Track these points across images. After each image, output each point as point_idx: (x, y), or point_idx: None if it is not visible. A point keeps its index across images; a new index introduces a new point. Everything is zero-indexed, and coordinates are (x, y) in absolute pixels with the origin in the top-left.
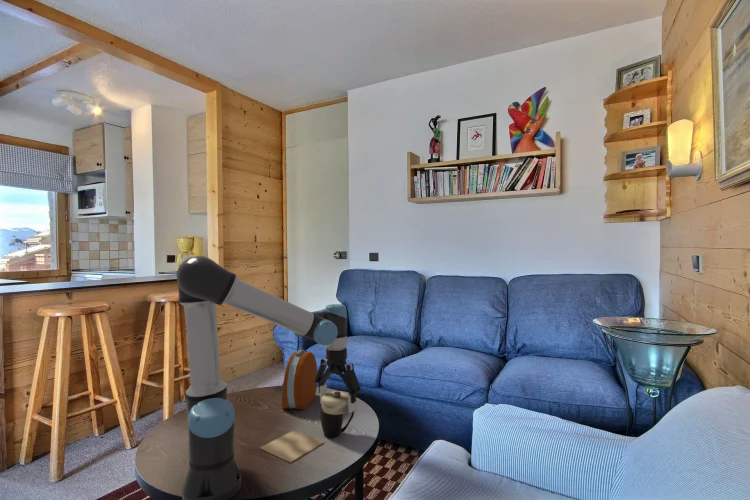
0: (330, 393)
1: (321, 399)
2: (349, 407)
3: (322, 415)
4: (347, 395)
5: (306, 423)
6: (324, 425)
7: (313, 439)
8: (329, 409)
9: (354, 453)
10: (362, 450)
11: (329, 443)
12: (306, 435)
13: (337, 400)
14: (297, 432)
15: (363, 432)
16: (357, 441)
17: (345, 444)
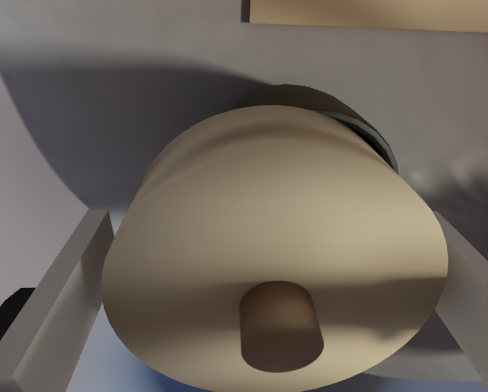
0: (392, 324)
1: (446, 236)
2: (74, 241)
3: (326, 101)
4: (210, 363)
5: (467, 145)
6: (291, 85)
7: (326, 11)
8: (243, 123)
9: (24, 36)
10: (23, 90)
11: (221, 43)
12: (395, 26)
13: (204, 250)
14: (470, 23)
15: None
16: (117, 147)
17: (141, 88)
